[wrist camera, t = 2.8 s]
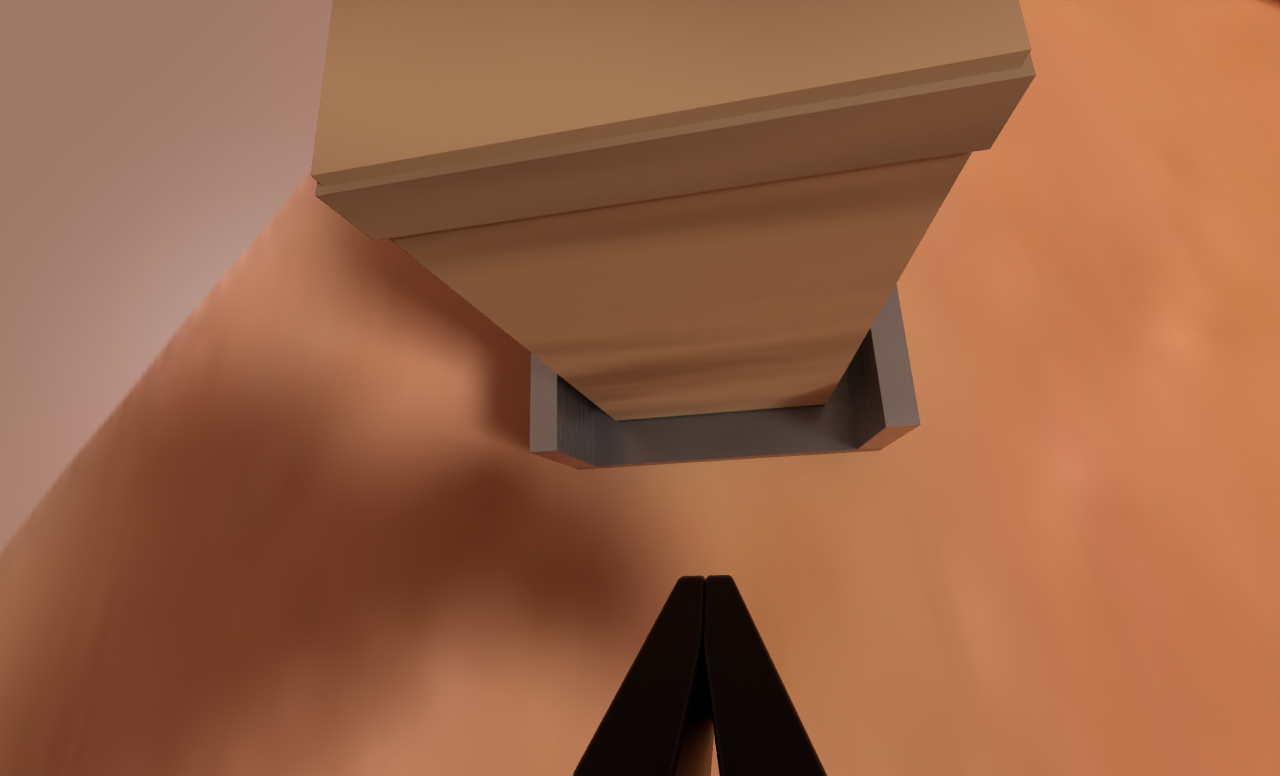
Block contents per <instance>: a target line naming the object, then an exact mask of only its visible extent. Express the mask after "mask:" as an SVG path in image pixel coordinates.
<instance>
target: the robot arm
mask: <svg viewBox="0 0 1280 776" xmlns="http://www.w3.org/2000/svg"><path fill="white" fill-rule="evenodd" d="M714 736H715V744H716V751H717V759H718V766H719V774H720V776H827V774H826V772H825V770H824V768H823V766H822V764H821V762H820V760H819V757H818V755H817V753H816V751H815V749H814V747H813V745H812V743H811V741H810V739H809V736H808V734H807V732H806V730H805V728H804V726H803V724H802V722H801V720H800V718H799V716H798V713H797V711H796V709H795V707H794V705H793V703H792V701H791V699H790V697H789V695H788V693H787V690H786V688H785V686H784V684H783V682H782V680H781V678H780V676H779V674H778V672H777V669H776V667H775V665H774V663H773V661H772V659H771V657H770V655H769V653H768V651H767V649H766V646H765V644H764V642H763V640H762V638H761V636H760V634H759V632H758V630H757V628H756V625H755V623H754V621H753V619H752V617H751V615H750V613H749V611H748V609H747V607H746V605H745V602H744V600H743V598H742V596H741V594H740V592H739V590H738V588H737V586H736V584H735V582H734V580H733V578H732V577H731V576H729V575H710V576H708V577H707V578H706V579H705V578H704V577H703V576H683V577H681V578H679V579H678V581H677V583H676V584H675V586H674V588H673V590H672V592H671V594H670V595H669V597H668V599H667V601H666V603H665V605H664V607H663V608H662V610H661V612H660V614H659V616H658V618H657V620H656V621H655V623H654V625H653V627H652V629H651V631H650V632H649V634H648V636H647V638H646V640H645V642H644V644H643V645H642V647H641V649H640V651H639V653H638V655H637V657H636V658H635V660H634V662H633V664H632V666H631V668H630V669H629V671H628V673H627V675H626V677H625V679H624V681H623V682H622V684H621V686H620V688H619V690H618V692H617V693H616V695H615V697H614V699H613V701H612V703H611V705H610V706H609V708H608V710H607V712H606V714H605V716H604V718H603V719H602V721H601V723H600V725H599V727H598V729H597V730H596V732H595V734H594V736H593V738H592V740H591V742H590V743H589V745H588V747H587V749H586V751H585V753H584V754H583V756H582V758H581V760H580V762H579V764H578V766H577V767H576V769H575V771H574V773H573V776H711V764H712V751H713V739H714Z"/></svg>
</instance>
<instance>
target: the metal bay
mask: <svg viewBox="0 0 1280 776" xmlns="http://www.w3.org/2000/svg"><path fill="white" fill-rule="evenodd" d="M919 425H920V419H919V413H918V408H917V402H916V396H915V390H914V384H913V378H912V372H911V367H910V361H909V355H908V349H907V343H906V337H905V331H904V326H903V320H902V314H901V308H900V302H899V296H898V290H897V285H896V284H895V286H894V288H893V290H892V291H891V293H890V295H889V297H888V298H887V300H886V302H885V303H884V305H883V307H882V309H881V310H880V312H879V314H878V316H877V317H876V319H875V321H874V322H873V324H872V326H871V328H870V329H869V331H868V333H867V335H866V336H865V338H864V340H863V341H862V343H861V345H860V347H859V348H858V350H857V352H856V354H855V355H854V357H853V359H852V360H851V362H850V364H849V366H848V367H847V369H846V371H845V373H844V374H843V376H842V378H841V380H840V381H839V383H838V385H837V386H836V388H835V390H834V392H833V393H832V395H831V397H830V399H829V400H828V402H827V404H821V405H808V406H796V407H783V408H770V409H758V410H745V411H732V412H719V413H707V414H694V415H681V416H668V417H656V418H643V419H630V420H618V421H616V420H614V419H613V418H612V417H611V416H609V415H608V414H607V413H606V412H604V411H603V410H602V409H601V408H599V407H598V406H597V405H596V404H594V403H593V402H592V401H591V400H589V399H588V398H587V397H586V396H584V395H583V394H582V393H581V392H579V391H578V390H577V389H576V388H574V387H573V386H572V385H571V384H569V383H568V382H567V381H566V380H565V379H563V378H562V377H561V376H560V375H558V374H557V373H556V372H555V371H553V370H552V369H551V368H550V367H548V366H547V365H546V364H545V363H543V362H542V361H541V360H540V359H538V358H537V357H536V356H535V355H533V354H532V353H531V377H530V453H533V454H536V455H539V456H542V457H545V458H548V459H550V460H553V461H556V462H559V463H562V464H565V465H567V466H570V467H573V468H576V469H594V468H609V467H625V466H641V465H656V464H672V463H688V462H704V461H719V460H735V459H751V458H767V457H782V456H798V455H814V454H830V453H845V452H861V451H877V450H881V449H883V448H885V447H886V446H888V445H889V444H891V443H892V442H894V441H896V440H897V439H899V438H900V437H902V436H903V435H905V434H907V433H908V432H910V431H911V430H913V429H914V428H916V427H918V426H919Z"/></svg>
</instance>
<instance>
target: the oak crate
mask: <svg viewBox="0 0 1280 776" xmlns="http://www.w3.org/2000/svg"><path fill="white" fill-rule="evenodd" d="M1030 51H1031V46H1030V42H1029V38H1028V34H1027V31H1026V27H1025V23H1024V20H1023V16H1022V12H1021V8H1020V5H1019V1H1018V0H333V6H332V13H331V21H330V29H329V37H328V44H327V52H326V60H325V68H324V75H323V84H322V92H321V100H320V107H319V115H318V123H317V130H316V138H315V146H314V154H313V163H312V170H311V176H312V177H313V178H314V179H315V180H317V187H316V195H315V196H316V197H318V198H319V199H320V200H321V201H323V202H324V203H325V204H327V205H328V206H329V207H331V208H332V209H333V210H335V211H336V212H337V213H338V214H340V215H341V216H342V217H344V218H345V219H346V220H348V221H349V222H350V223H351V224H353V225H354V226H355V227H357V228H358V229H359V230H361V231H362V232H363V233H365V234H366V235H367V236H368V237H370V238H371V239H372V240H374V241H375V240H381V239H388V238H389V239H390V240H391V241H393V242H394V243H395V244H396V245H398V246H399V247H400V248H401V249H403V250H404V251H405V252H406V253H408V254H409V255H410V256H411V257H413V258H414V259H415V260H416V261H418V262H419V263H420V264H421V265H423V266H424V267H425V268H426V269H428V270H429V271H430V272H431V273H433V274H434V275H435V276H436V277H438V278H439V279H440V280H441V281H442V282H444V283H445V284H446V285H447V286H449V287H450V288H451V289H452V290H454V291H455V292H456V293H457V294H459V295H460V296H461V297H462V298H464V299H465V300H466V301H467V302H469V303H470V304H471V305H472V306H474V307H475V308H476V309H477V310H479V311H480V312H481V313H482V314H484V315H485V316H486V317H487V318H489V319H490V320H491V321H492V322H494V323H495V324H496V325H497V326H499V327H500V328H501V329H502V330H503V331H505V332H506V333H507V334H508V335H510V336H511V337H512V338H513V339H515V340H516V341H517V342H518V343H520V344H521V345H522V346H523V347H525V348H526V349H527V350H528V351H530V352H531V353H532V354H533V355H535V356H536V357H537V358H538V359H540V360H541V361H542V362H543V363H545V364H546V365H547V366H548V367H550V368H551V369H552V370H553V371H555V372H556V373H557V374H558V375H560V376H561V377H562V378H563V379H565V380H566V381H567V382H568V383H569V384H571V385H572V386H573V387H574V388H576V389H577V390H578V391H579V392H581V393H582V394H583V395H584V396H586V397H587V398H588V399H589V400H591V401H592V402H593V403H594V404H596V405H597V406H598V407H599V408H601V409H602V410H603V411H604V412H606V413H607V414H608V415H609V416H611V417H612V418H613V419H614V420H616V421H618V420H630V419H643V418H656V417H668V416H681V415H694V414H707V413H719V412H732V411H745V410H758V409H770V408H783V407H796V406H808V405H821V404H827V402H828V400H829V399H830V397H831V395H832V393H833V392H834V390H835V388H836V386H837V385H838V383H839V381H840V380H841V378H842V376H843V374H844V373H845V371H846V369H847V367H848V366H849V364H850V362H851V360H852V359H853V357H854V355H855V354H856V352H857V350H858V348H859V347H860V345H861V343H862V341H863V340H864V338H865V336H866V335H867V333H868V331H869V329H870V328H871V326H872V324H873V322H874V321H875V319H876V317H877V316H878V314H879V312H880V310H881V309H882V307H883V305H884V303H885V302H886V300H887V298H888V297H889V295H890V293H891V291H892V290H893V288H894V286H895V284H896V283H897V281H898V279H899V278H900V276H901V274H902V272H903V271H904V269H905V267H906V265H907V264H908V262H909V260H910V258H911V257H912V255H913V253H914V252H915V250H916V248H917V246H918V245H919V243H920V241H921V239H922V238H923V236H924V234H925V233H926V231H927V229H928V227H929V226H930V224H931V222H932V220H933V219H934V217H935V215H936V214H937V212H938V210H939V208H940V207H941V205H942V203H943V201H944V200H945V198H946V196H947V195H948V193H949V191H950V189H951V188H952V186H953V184H954V182H955V181H956V179H957V177H958V175H959V174H960V172H961V170H962V169H963V167H964V165H965V163H966V162H967V160H968V158H969V156H970V155H971V153H972V152H973V151H980V150H987V149H990V148H991V146H992V145H993V143H994V142H995V140H996V138H997V137H998V135H999V133H1000V132H1001V130H1002V129H1003V127H1004V125H1005V124H1006V122H1007V121H1008V119H1009V117H1010V116H1011V114H1012V112H1013V111H1014V109H1015V108H1016V106H1017V104H1018V103H1019V101H1020V100H1021V98H1022V96H1023V95H1024V93H1025V92H1026V90H1027V88H1028V87H1029V85H1030V83H1031V82H1032V80H1033V79H1034V77H1035V75H1036V74H1035V70H1034V67H1033V63H1032V59H1031V55H1030Z"/></svg>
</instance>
